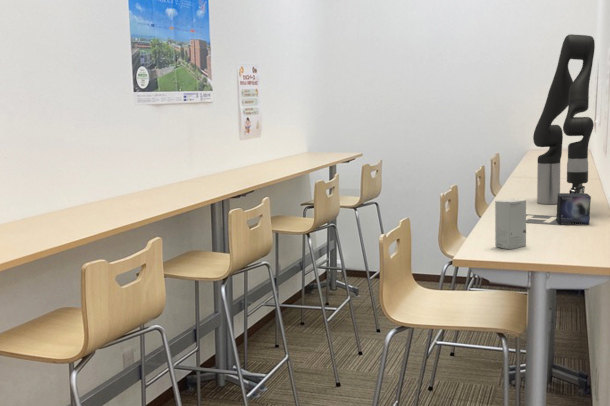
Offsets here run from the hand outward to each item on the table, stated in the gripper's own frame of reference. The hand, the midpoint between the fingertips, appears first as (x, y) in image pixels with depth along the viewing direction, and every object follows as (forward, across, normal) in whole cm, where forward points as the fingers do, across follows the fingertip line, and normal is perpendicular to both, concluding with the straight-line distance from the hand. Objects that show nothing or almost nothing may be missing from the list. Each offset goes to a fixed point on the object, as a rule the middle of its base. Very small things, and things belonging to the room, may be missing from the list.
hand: (576, 214), depth 267 cm
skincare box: (+1, -61, +6) cm, 61 cm away
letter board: (+1, -12, +11) cm, 16 cm away
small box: (+1, -16, -2) cm, 16 cm away
